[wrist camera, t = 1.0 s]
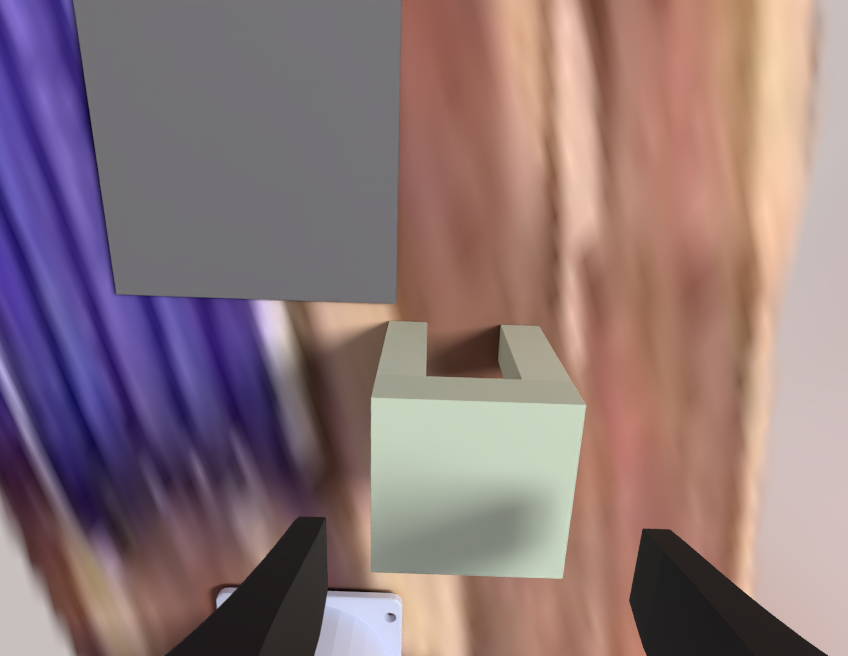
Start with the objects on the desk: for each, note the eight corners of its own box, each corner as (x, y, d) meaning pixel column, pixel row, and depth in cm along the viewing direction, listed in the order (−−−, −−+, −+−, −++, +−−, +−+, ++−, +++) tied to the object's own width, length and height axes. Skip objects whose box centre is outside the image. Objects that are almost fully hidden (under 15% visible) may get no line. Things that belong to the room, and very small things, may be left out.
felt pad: (396, 301, 20) (395, 303, 20) (120, 292, 20) (116, 294, 20) (401, -14, 17) (401, -16, 17) (75, -25, 17) (68, -28, 17)
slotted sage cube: (525, 457, 22) (562, 578, 16) (387, 452, 22) (370, 572, 16) (539, 326, 20) (585, 405, 14) (389, 320, 20) (370, 397, 14)
